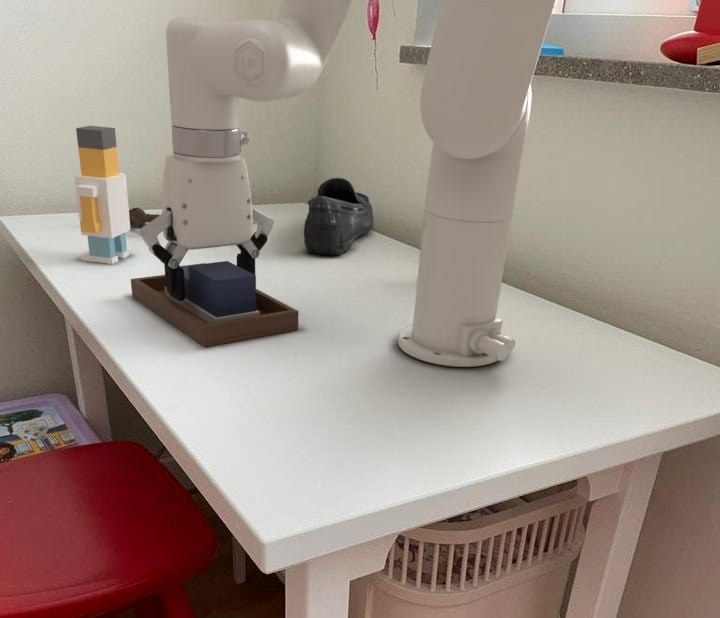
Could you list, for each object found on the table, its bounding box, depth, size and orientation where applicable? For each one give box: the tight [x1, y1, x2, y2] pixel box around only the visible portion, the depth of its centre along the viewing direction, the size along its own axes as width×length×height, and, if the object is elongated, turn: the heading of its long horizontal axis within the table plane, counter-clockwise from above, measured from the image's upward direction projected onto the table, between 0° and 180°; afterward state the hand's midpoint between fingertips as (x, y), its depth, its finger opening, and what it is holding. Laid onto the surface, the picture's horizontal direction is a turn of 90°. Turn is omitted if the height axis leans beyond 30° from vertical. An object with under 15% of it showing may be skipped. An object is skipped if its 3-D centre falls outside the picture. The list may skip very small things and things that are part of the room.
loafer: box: [303, 177, 375, 256], centre depth 134 cm, size 10×29×10 cm, turn 174°
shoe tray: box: [130, 274, 300, 348], centre depth 97 cm, size 21×13×2 cm, turn 37°
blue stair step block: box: [165, 260, 260, 324], centre depth 96 cm, size 6×14×6 cm, turn 37°
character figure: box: [74, 125, 131, 265], centre depth 112 cm, size 8×10×18 cm
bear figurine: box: [129, 207, 160, 230], centre depth 134 cm, size 18×4×14 cm
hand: (212, 292), depth 96 cm, fingers open, 9 cm apart
